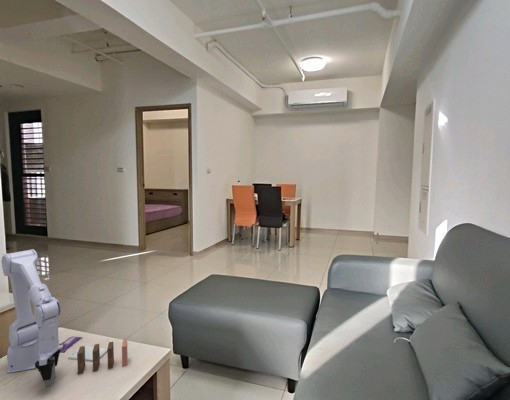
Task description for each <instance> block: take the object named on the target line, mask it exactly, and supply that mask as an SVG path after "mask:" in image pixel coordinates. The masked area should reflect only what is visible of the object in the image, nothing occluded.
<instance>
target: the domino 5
mask: <svg viewBox="0 0 510 400" xmlns="http://www.w3.org/2000/svg"><path fill="white" fill-rule="evenodd" d="M127 366H128V339H122V344H121V367H122V368H123V367H124V368H125V367H127Z"/></svg>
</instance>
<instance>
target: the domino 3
mask: <svg viewBox="0 0 510 400" xmlns="http://www.w3.org/2000/svg"><path fill="white" fill-rule="evenodd" d="M93 347H94V348H93V362H92V372H93V373H94V372H95V373H96V372H98V371H99V367H100V364H101V359H100V350H99V348H100V343H95V344H94V345H93Z"/></svg>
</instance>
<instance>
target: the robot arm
mask: <svg viewBox="0 0 510 400" xmlns="http://www.w3.org/2000/svg"><path fill="white" fill-rule="evenodd" d="M38 260H39V257H38V253H37V251H36V250H35V249H33V248H31V249H28V250H22V251H15V252H10V253H3V255H2V257H1V268H2V273H3V275H4V276H5V277H9V281H10V284H11V285H10V286H11V293H12V297H13V302H14V303H13V305H14V309H15V316H16V319H15V320H14V321H13V322H12V323H11V324H10V325H9V327H8V341H9V344H10V345H9V346H8V348H7V349H8V350H7V353H6V359H7V371H6V373H7V374H9V373H16V372H23V371H27V370H34V369H37V371H38V372H39V375H40V376H41V379H42V381H44V382H46V380H50V379H51V376H52V368H53V364H54V362H55V367H57V366H58V363H59V359H60V358H59V356H60V353H61V352H60V350H61V349H62V347H63V344H61V343H60V342H59V341H60V339H59V337H60V336H59V318H58V317H59V316H60V315H61V314H62V313H61V312H62V309H61V307H62V306H61V304H60V302H59V300H58V299H56V297H54V296H52V294H51V292H50V289H49V288H48V285H47V284H45V283H42V281H41V279H40V275H39V273H38V270H37V265H38ZM32 305H33V307H34V310H32ZM52 356H54V357H55V359H53V360H50V359H49V357H52Z"/></svg>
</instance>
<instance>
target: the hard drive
mask: <svg viewBox="0 0 510 400" xmlns="http://www.w3.org/2000/svg"><path fill="white" fill-rule="evenodd" d="M84 346H85V362H90V363H91V362H92V363H93V348H94V346H88V345H87V346H86V345H84ZM107 348H108V347H106V348H105V347H99V350H100V360H101V359H102V358H103V357H105V356H106V354H107ZM78 351H79V348H77V349H76V350H74V352H72V353H71V354H70V355H69V356H68V357H67V358H68V359H67V360H71V361H72V360H73V361H77V353H78Z"/></svg>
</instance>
